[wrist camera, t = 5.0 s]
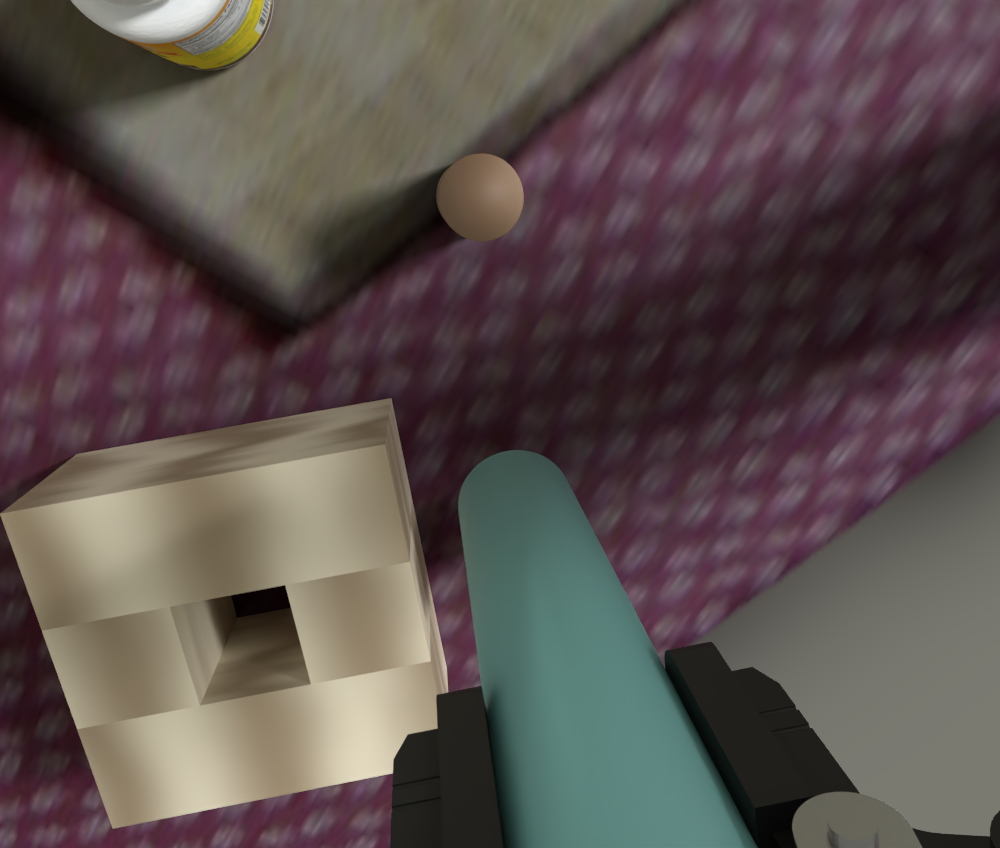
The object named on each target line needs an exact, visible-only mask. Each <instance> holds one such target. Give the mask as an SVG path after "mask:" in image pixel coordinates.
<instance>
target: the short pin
mask: <svg viewBox="0 0 1000 848" xmlns="http://www.w3.org/2000/svg"><path fill="white" fill-rule="evenodd" d="M523 200H524V195H523V188H522V184H521V181H520V179H519V177H518V175H517V173H516V172H515V170H514V169H513V168H512V167H511V166H510V165H509V164H508V163H507V162H505V161H504V160H502V159H501V158H499V157H496V156H493V155H490V154H473V155H469V156H466V157H464V158H462V159H460V160H458V161H457V162H456V163H454V164H453V165H451V166H450V167H449V168H448V169H447V170H446V171H445V172H444V173H443V174H442V176H441V178H440V180H439V182H438V185H437V189H436V202H437V206H438V209H439V212H440V214H441V215H442V217H443V218H444V220H445V221H446V222H447V224H448V225H449V226H450V227H451V228H452V229H453V230H454V231H455V232H456V233H457V234H459V235H461V236H462V237H464V238H467V239H470V240H474V241H490V240H494V239H496V238H499V237H501V236H503V235H504V234H506V233H507V232H508V231H509V230H510V229H511V228H512V227H513V226H514V225H515V224H516V222H517V220H518V219H519V216H520V214H521V211H522V208H523Z"/></svg>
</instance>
